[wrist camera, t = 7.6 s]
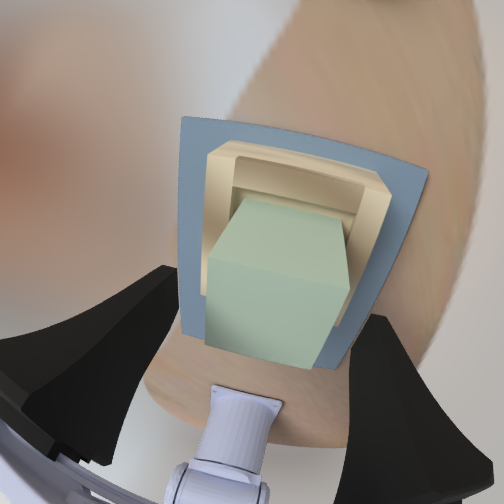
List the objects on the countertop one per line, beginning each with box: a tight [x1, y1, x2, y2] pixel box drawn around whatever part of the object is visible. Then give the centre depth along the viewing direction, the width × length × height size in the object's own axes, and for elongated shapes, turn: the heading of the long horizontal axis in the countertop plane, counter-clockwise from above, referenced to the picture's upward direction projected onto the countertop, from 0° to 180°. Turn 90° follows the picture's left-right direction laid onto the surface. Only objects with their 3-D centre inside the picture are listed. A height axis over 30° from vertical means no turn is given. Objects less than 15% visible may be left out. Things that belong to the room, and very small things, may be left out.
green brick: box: [205, 198, 350, 370], centre depth 12 cm, size 4×4×5 cm
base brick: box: [200, 140, 392, 327], centre depth 15 cm, size 8×8×4 cm
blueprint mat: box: [178, 116, 429, 370], centre depth 19 cm, size 18×14×1 cm
